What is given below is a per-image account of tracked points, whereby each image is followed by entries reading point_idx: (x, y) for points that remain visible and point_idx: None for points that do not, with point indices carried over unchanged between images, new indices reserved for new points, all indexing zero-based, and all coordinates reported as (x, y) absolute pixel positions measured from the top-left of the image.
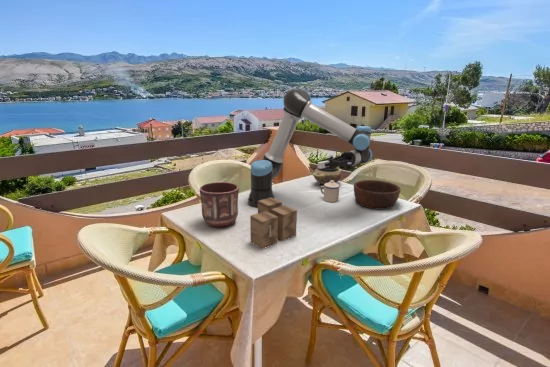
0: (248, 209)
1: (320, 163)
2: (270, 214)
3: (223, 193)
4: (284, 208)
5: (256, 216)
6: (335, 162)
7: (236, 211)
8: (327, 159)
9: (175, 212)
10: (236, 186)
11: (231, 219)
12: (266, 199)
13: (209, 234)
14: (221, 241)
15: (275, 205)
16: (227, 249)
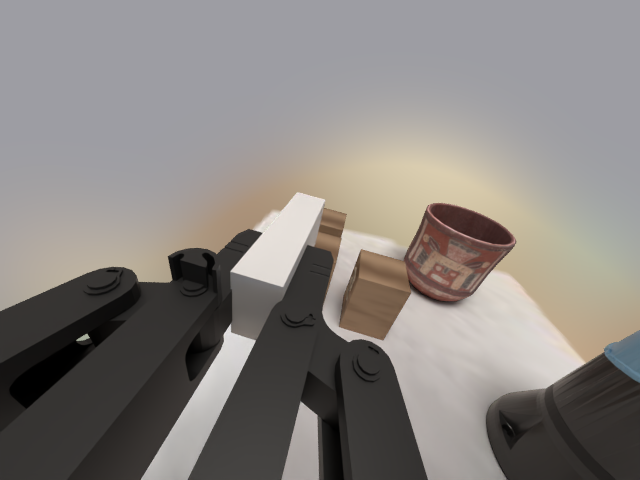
0: (486, 371)
1: (295, 198)
2: (323, 223)
3: (427, 207)
4: (320, 248)
5: (336, 213)
6: (98, 275)
7: (417, 265)
8: (348, 462)
9: (511, 282)
10: (465, 235)
11: (405, 263)
12: (401, 275)
13: (396, 252)
14: (365, 244)
15: (358, 266)
16: (341, 235)
